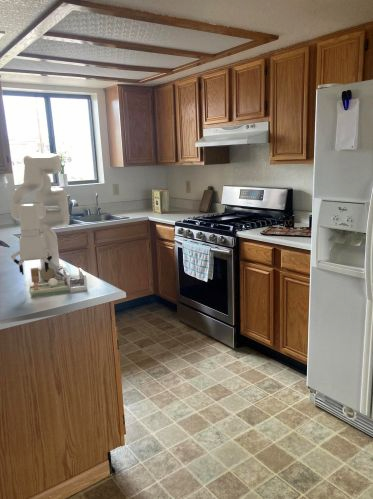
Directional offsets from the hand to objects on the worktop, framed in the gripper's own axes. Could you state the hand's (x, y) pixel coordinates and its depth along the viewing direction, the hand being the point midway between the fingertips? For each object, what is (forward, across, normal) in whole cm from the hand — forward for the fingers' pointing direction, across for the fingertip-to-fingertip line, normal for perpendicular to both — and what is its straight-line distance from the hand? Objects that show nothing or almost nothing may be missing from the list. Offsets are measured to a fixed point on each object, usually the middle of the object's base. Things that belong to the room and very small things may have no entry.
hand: (34, 272), depth 175 cm
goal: (+9, -16, -1) cm, 19 cm away
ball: (+6, -7, 0) cm, 9 cm away
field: (+9, -5, -1) cm, 11 cm away
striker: (+7, 0, -1) cm, 7 cm away
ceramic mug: (+9, -8, -20) cm, 24 cm away
